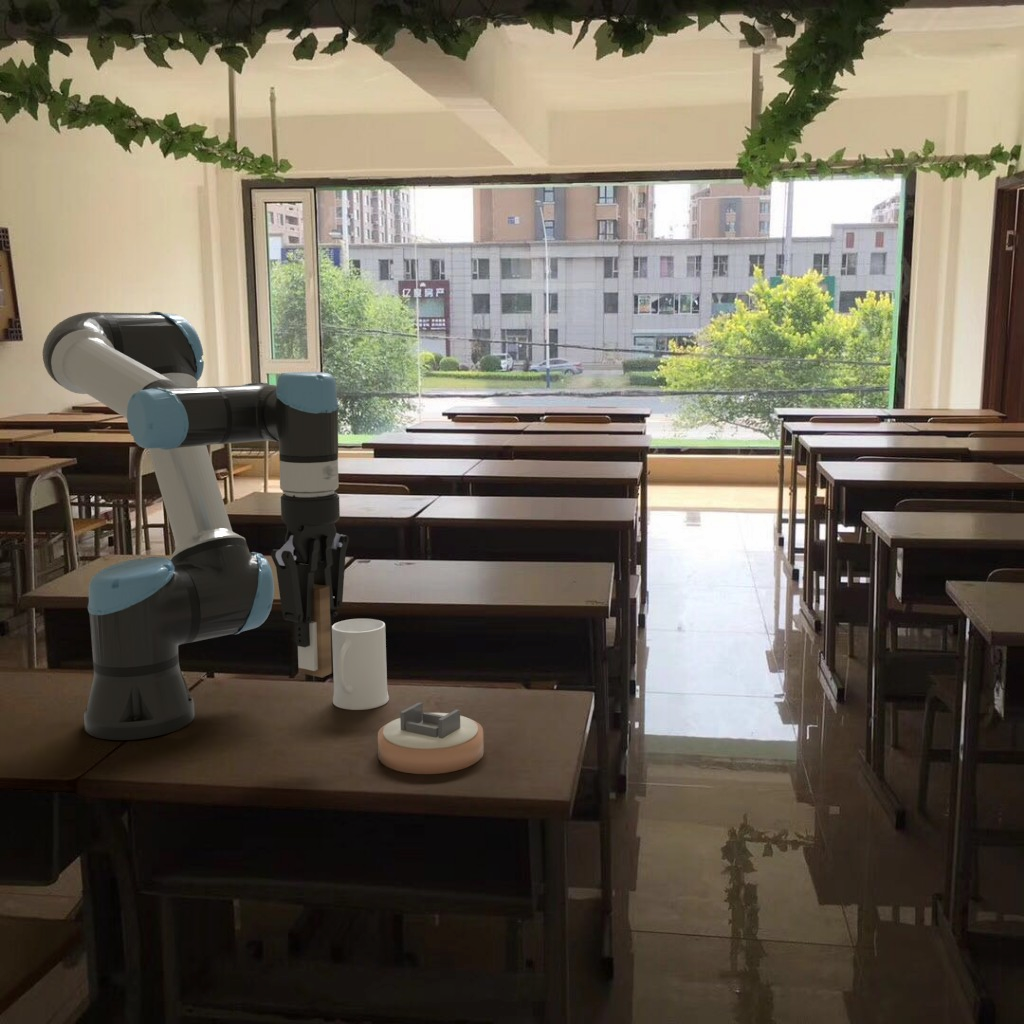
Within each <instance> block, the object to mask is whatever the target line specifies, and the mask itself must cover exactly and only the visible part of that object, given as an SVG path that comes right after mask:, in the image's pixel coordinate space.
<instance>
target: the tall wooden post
mask: <svg viewBox="0 0 1024 1024" xmlns="http://www.w3.org/2000/svg"><path fill="white" fill-rule="evenodd" d="M312 621H314V622H317V656H318V670H315V671H312V670H307V669H303V668H298V674H304V675H308V676H313V677H317V678H325V677H326V676H328V675H331V674H332V673H333V665H332V634H331V627H332V626H330V587H329V586H325V585H319V584H314V586H313V612H312Z"/></svg>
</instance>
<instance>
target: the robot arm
mask: <svg viewBox="0 0 1024 1024" xmlns="http://www.w3.org/2000/svg"><path fill="white" fill-rule="evenodd" d="M203 356H204V351H203V346H202V343H201V339H200V337H199V335H198V333H197V331H196V329H195V328H194V326H193V325H192V324H191V322H190V321H189V320H188V319H186V318H185V317H183V316H181V315H178V314H176V313H165V312H164V313H163V312H160V311H150V312H97V311H88V312H83V313H82V312H80V313H77V314H73V315H72V316H69V317H67V318H64V319H63V320H62V321H60V322H58V323H57V324H56V325H55V326H54V327H53V328H52V329H51V331H50V332H49V333H48V334H47V336H46V338H45V339H44V343H43V347H42V360H43V365H44V368H45V370H46V372H47V374H48V375H49V376H50V378H51V379H52V380H53V381H54V382H55V383H57V384H58V385H59V386H61V387H62V388H64V389H66V390H68V392H69V391H70V392H72V393H74V394H82V395H88V396H90V397H91V398H93V399H95V400H96V401H98V402H100V403H101V404H103V405H104V406H105V407H107V408H109V409H110V410H112V411H113V412H115V413H117V414H119V415H120V416H121V417H123V418H125V419H126V420H127V428H128V431H129V433H130V436H131V437H132V438H133V441H134V442H135V444H136V445H137V446H138V447H141V448H142V449H145V450H146V449H147V450H148V453H149V456H150V461H151V462H152V463H151V464H152V466H153V470H154V473H155V477H156V480H157V483H158V487H159V491H160V494H161V497H162V501H163V504H164V508H165V512H166V515H167V518H168V521H169V525H170V528H171V531H172V535H173V538H174V542H175V546H176V547H175V550H174V552H173V553H172V554H171V556H170V558H166V557H162V556H161V557H160V556H150V557H146V558H135V559H129V560H124V561H122V562H118V563H115V564H112V565H109V566H107V567H105V568H103V569H101V570H99V571H98V572H96V573H95V574H94V575H92V577H91V579H90V581H89V583H88V604H87V611H88V614H89V624H90V625H89V627H90V637H91V638H90V639H91V648H92V649H91V651H92V661H93V662H92V665H93V679H92V683H91V684H92V685H91V687H90V690H89V692H90V693H89V697H88V702H87V706H86V708H85V711H84V713H83V720H84V731H85V732H86V733H87V734H88V735H90V736H92V737H94V738H97V739H102V740H110V741H111V740H112V741H132V740H133V741H134V740H142V739H149V738H155V737H158V736H159V737H160V736H163V735H166V734H169V733H173V732H176V731H178V730H180V729H182V728H184V727H186V726H188V725H190V723H192V721H193V720H194V719H195V715H196V714H195V701H194V698H193V696H192V695H191V694H190V689H189V688H188V685H187V682H186V679H185V677H184V675H183V673H182V670H181V668H180V662H179V661H180V660H179V646H180V645H184V644H189V643H194V642H200V641H203V640H208V639H215V638H219V637H223V636H228V635H239V634H240V633H242V632H245V631H250V630H254V629H256V628H259V627H260V626H261V625H262V624H264V623H265V621H266V620H267V619H268V617H269V615H270V612H271V611H272V608H273V607H272V606H273V601H274V596H275V583H274V575H273V571H272V567H271V565H270V563H269V561H268V559H267V558H265V556H264V555H263V554H262V553H259V552H256V551H252V552H250V550H249V546H248V544H247V540H246V537H244V536H242V535H239V534H238V533H236V532H234V531H233V528H232V526H231V522H230V519H229V515H228V512H227V510H226V506H225V503H224V500H223V496H222V492H221V489H220V485H219V482H218V479H217V477H216V473H215V469H214V466H213V463H212V459H211V456H210V453H209V451H208V446H211V445H221V444H222V445H223V444H225V445H226V444H239V443H251V442H253V443H254V442H275V443H277V442H278V451H279V488H280V490H281V491H282V492H284V493H282V495H280V515H281V516H280V517H281V521H282V522H283V523H284V524H285V526H286V528H287V529H286V535H285V536H284V537H285V539H284V544H283V546H282V547H280V549H272V550H271V553H270V555H271V558H272V561H273V563H274V566H275V569H276V578H277V583H278V584H277V585H278V592H279V599H280V606H281V614H282V619H283V620H285V621H290V622H293V623H294V625H295V627H294V632H295V645H296V647H297V659H298V660H297V661H298V663H297V664H298V669H299V668H303V669H307V670H312V671H315V670H318V656H317V622H314V621H312V612H313V586H314V584H319V585H325V586H329V587H330V626H331V635H332V617H337V616H338V615H339V610H337V608H338V609H339V608H341V607H342V606H343V597H344V596H343V595H344V586H345V585H344V583H345V582H344V580H345V566H346V553H347V549H348V546H349V542H350V537H349V535H346V534H340V533H338V532H337V527H336V526H335V523H337V522H338V521H339V520H340V518H341V517H340V516H341V515H340V513H341V511H340V510H341V509H340V495H339V494H338V492H336V490H338V489H339V488H340V487H339V486H340V485H339V484H340V483H339V461H338V460H339V400H338V399H337V398H338V396H337V395H338V394H337V384H336V383H337V382H336V379H335V377H334V376H333V375H332V374H331V373H329V372H323V371H321V372H320V371H319V372H317V371H316V372H314V371H296V372H295V371H294V372H293V371H289V372H282V373H280V375H278V377H277V380H276V381H277V382H276V384H269V383H266V382H250V383H245V384H241V385H224V386H223V385H222V386H198V381H199V380H200V378H201V377H202V374H203V371H204V365H205V362H204V359H203V358H202V357H203Z"/></svg>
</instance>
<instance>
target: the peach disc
mask: <svg viewBox="0 0 1024 1024" xmlns="http://www.w3.org/2000/svg"><path fill="white" fill-rule="evenodd" d="M423 709H424V704H423V702H417V703H415V704H413V705H411V706H409V707H406V708H405V709H404V710H401V711H399V712H400V714H399V716H400V717H399V718H396V719H393V720H391V721H389V722H388V723H386V724H384V725H383V726H382V727H380V728H379V730H378V732H377V750H378V753H377V755H378V756H377V757H378V760H379V761H380V763H381V764H382V765H384V766H385V767H386V768H389V769H391V770H393V771H397V772H401V773H406V774H414V775H437V774H447V773H451V772H457V771H459V770H460V771H461V770H463V769H466V768H469V767H472V766H473V765H475V764H476V763H478V762H479V761H480V760H481V759H482V758H483V756H484V729H483V726H482V725H481V724H480V723H479V722H477V721H475V720H473V719H472V718H469V717H466V716H463V715H461V709H457V708H455V709H454V710H451V711H450V712H447V713H446V712H425V711H424V710H423ZM423 711H424V712H423Z"/></svg>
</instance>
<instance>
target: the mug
mask: <svg viewBox="0 0 1024 1024" xmlns="http://www.w3.org/2000/svg"><path fill="white" fill-rule="evenodd" d="M331 627H332V634H331V650H332V673H333V697H332V703H333V705H334V707H336V708H339V709H343V710H350V711H363V710H364V711H365V710H371V709H377V708H379V707H382V706H384V705H386V704H387V703H388V702H389V700H390V696H389V692H388V678H387V677H388V675H387V674H388V673H387V672H388V671H387V647H386V646H387V644H386V643H387V642H386V641H387V639H386V637H387V636H386V623H385V622H384V621H382V620H379V619H375V618H374V619H373V618H351V619H345V620H341V621H338V622H335V623H334V624H333V625H332V626H331Z"/></svg>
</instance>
